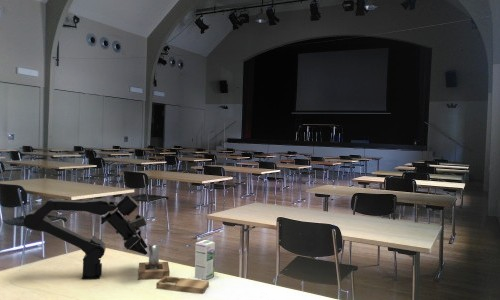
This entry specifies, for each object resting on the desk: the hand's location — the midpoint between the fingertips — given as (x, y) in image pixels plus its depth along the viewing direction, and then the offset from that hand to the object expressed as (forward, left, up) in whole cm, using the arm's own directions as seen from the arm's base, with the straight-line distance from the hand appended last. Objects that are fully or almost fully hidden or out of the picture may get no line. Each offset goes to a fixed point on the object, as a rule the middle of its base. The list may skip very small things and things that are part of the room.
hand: (146, 250), depth 171 cm
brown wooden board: (+14, -16, -10) cm, 23 cm away
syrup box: (+23, -6, -10) cm, 26 cm away
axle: (+3, 0, -10) cm, 10 cm away
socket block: (+3, 0, -10) cm, 10 cm away
